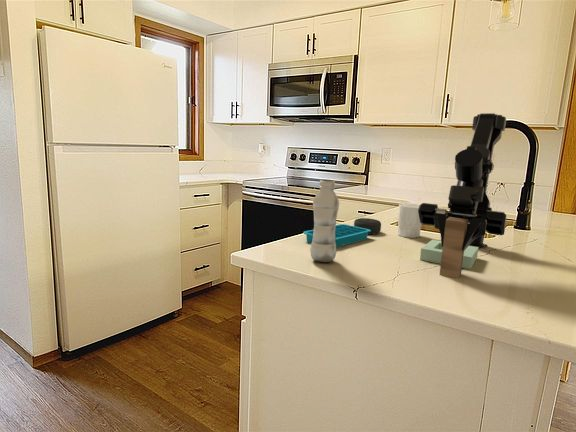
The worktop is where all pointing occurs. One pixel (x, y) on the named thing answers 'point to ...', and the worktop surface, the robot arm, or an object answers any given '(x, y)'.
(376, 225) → the smart speaker
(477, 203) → the robot arm
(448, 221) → the brown square peg
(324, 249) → the plastic bottle
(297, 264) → the worktop surface
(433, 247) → the green square hole base
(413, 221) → the white cup
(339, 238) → the ice cube tray
